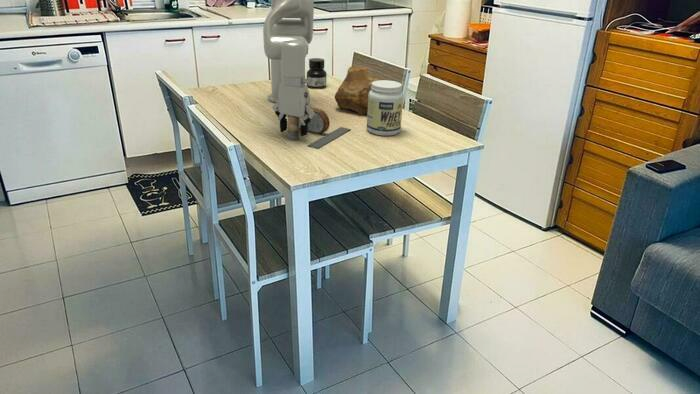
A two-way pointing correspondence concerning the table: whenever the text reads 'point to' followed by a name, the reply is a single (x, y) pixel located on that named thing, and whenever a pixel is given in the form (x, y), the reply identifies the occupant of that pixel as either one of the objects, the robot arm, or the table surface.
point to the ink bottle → (316, 73)
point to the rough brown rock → (355, 90)
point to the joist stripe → (329, 138)
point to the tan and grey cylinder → (293, 127)
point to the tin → (318, 122)
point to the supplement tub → (385, 108)
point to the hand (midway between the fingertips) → (293, 132)
